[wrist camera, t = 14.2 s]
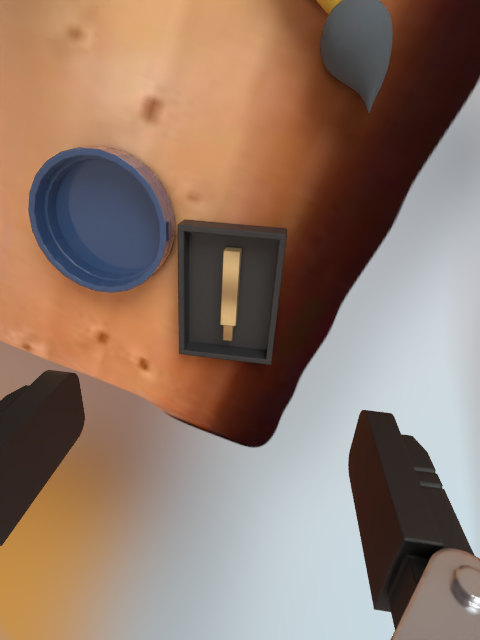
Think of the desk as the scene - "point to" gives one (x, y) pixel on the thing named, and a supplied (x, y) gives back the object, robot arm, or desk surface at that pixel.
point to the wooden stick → (230, 290)
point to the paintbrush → (357, 44)
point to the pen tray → (206, 289)
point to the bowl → (101, 218)
